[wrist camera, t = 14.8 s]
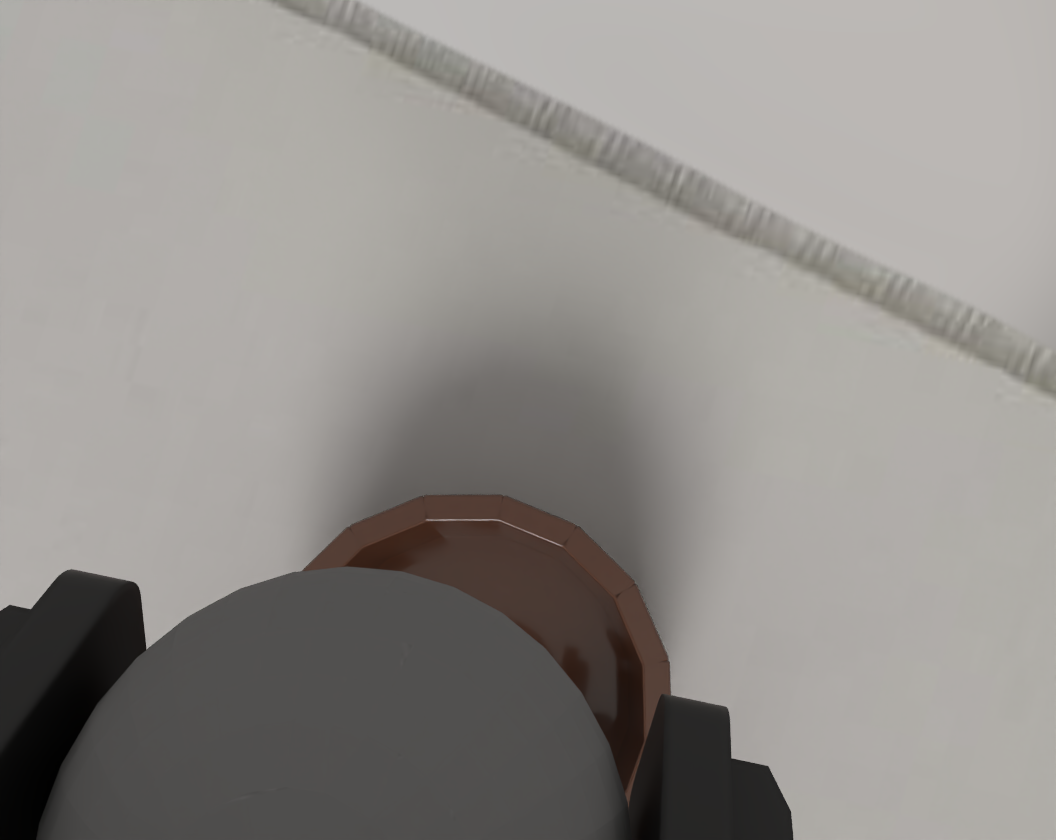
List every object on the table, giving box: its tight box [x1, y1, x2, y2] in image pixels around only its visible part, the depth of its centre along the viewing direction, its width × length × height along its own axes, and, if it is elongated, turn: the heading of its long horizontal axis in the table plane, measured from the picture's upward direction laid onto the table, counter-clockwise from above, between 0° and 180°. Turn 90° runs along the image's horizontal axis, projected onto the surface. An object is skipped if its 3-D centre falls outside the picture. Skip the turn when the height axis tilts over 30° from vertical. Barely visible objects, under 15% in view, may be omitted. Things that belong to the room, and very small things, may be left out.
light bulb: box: [36, 566, 632, 840], centre depth 12 cm, size 6×6×10 cm
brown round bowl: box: [302, 495, 671, 808], centre depth 27 cm, size 10×10×5 cm
